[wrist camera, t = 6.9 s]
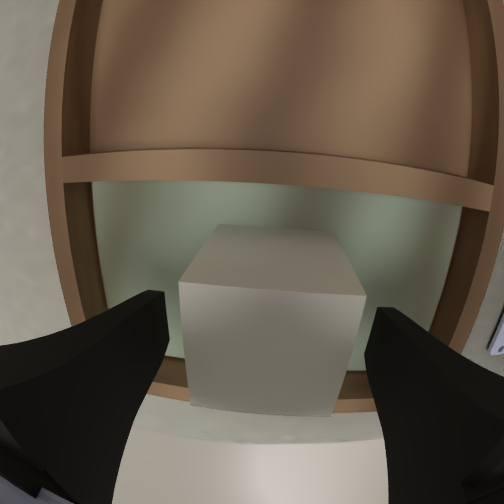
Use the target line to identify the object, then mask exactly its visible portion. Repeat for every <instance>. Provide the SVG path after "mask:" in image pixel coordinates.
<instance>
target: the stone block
mask: <svg viewBox="0 0 504 504" xmlns="http://www.w3.org/2000/svg"><path fill="white" fill-rule="evenodd" d="M178 285H179V299H180V312H181V324H182V335H183V346H184V355H185V364H186V373H187V381H188V389H189V397H190V404H191V405H192V406H198V407H205V408H211V409H219V410H227V411H235V412H244V413H255V414H267V415H283V416H310V417H331V415H332V413H333V410H334V407H335V404H336V401H337V398H338V396H339V393H340V390H341V387H342V384H343V380H344V377H345V374H346V371H347V368H348V364H349V361H350V358H351V354H352V351H353V347H354V344H355V340H356V337H357V333H358V329H359V326H360V322H361V318H362V314H363V310H364V306H365V302H366V297H367V295H366V293H365V291H364V289H363V287H362V285H361V283H360V281H359V279H358V277H357V275H356V273H355V271H354V269H353V267H352V265H351V264H350V262H349V260H348V258H347V256H346V254H345V252H344V250H343V248H342V246H341V245H340V243H339V241H338V239H337V237H336V235H335V233H334V232H324V231H312V230H299V229H286V228H273V227H259V226H244V225H229V224H218V225H217V227H216V228H215V230H214V231H213V232H212V234H211V235H210V237H209V238H208V239H207V241H206V242H205V244H204V245H203V247H202V248H201V249H200V251H199V252H198V254H197V255H196V257H195V258H194V259H193V261H192V262H191V264H190V265H189V267H188V268H187V270H186V271H185V273H184V274H183V275H182V277H181V278H180V280H179V281H178Z"/></svg>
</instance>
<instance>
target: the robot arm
mask: <svg viewBox="0 0 504 504" xmlns="http://www.w3.org/2000/svg"><path fill="white" fill-rule="evenodd" d="M169 341H170V336H169V328H168V320H167V311H166V301H165V291H156V290H146V291H144V292H141V293H139V294H137V295H135V296H133V297H131V298H129V299H127V300H125V301H124V302H122V303H120V304H118V305H116V306H114V307H112V308H110V309H108V310H106V311H105V312H103V313H100V314H98V315H96V316H94V317H92V318H90V319H88V320H86V321H84V322H82V323H79V324H77V325H75V326H72V327H70V328H67V329H64V330H62V331H59V332H56V333H53V334H50V335H47V336H43V337H39V338H36V339H32V340H28V341H24V342H20V343H14V344H9V345H2V346H0V504H112V499H113V493H114V488H115V483H116V479H117V475H118V471H119V467H120V462H121V459H122V455H123V452H124V449H125V445H126V442H127V439H128V436H129V433H130V430H131V427H132V424H133V421H134V419H135V416H136V414H137V412H138V410H139V408H140V406H141V404H142V402H143V400H144V398H145V396H146V394H147V392H148V390H149V388H150V386H151V384H152V382H153V380H154V378H155V376H156V374H157V372H158V370H159V368H160V366H161V364H162V362H163V359H164V356H165V353H166V350H167V347H168V344H169ZM488 352H489V353H490V354H491V355H500V354H504V313H503V316H502V318H501V321H500V323H499V326H498V328H497V330H496V332H495V335H494V337H493V339H492V341H491V344H490V346H489V348H488ZM364 359H365V366H366V372H367V378H368V382H369V385H370V389H371V392H372V395H373V399H374V402H375V406H376V409H377V413H378V416H379V420H380V423H381V427H382V431H383V436H384V440H385V449H386V458H387V468H388V490H389V491H388V492H389V504H504V377H503V376H500V375H498V374H496V373H494V372H491V371H489V370H487V369H485V368H483V367H481V366H479V365H478V364H476V363H474V362H472V361H471V360H469V359H467V358H465V357H464V356H462V355H460V354H459V353H457V352H456V351H454V350H453V349H451V348H450V347H448V346H447V345H445V344H444V343H442V342H441V341H440V340H438V339H437V338H436V337H434V336H433V335H431V334H430V333H429V332H427V331H426V330H425V329H423V328H422V327H421V326H420V325H418V324H417V323H416V322H414V321H413V320H412V319H410V318H409V317H408V316H406V315H405V314H403V313H402V312H400V311H399V310H397V309H396V308H394V307H377V310H376V313H375V317H374V321H373V324H372V328H371V332H370V335H369V339H368V342H367V345H366V349H365V352H364Z"/></svg>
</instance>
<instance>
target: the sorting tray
mask: <svg viewBox="0 0 504 504" xmlns="http://www.w3.org/2000/svg"><path fill="white" fill-rule="evenodd" d="M44 163H45V180H46V193H47V203H48V212H49V220H50V228H51V235H52V241H53V247H54V253H55V258H56V264H57V269H58V273H59V278H60V283H61V287H62V291H63V295H64V300H65V303H66V307H67V311H68V315H69V318H70V322H71V325H72V326H75V325H77V324H79V323H82V322H84V321H86V320H88V319H90V318H92V317H94V316H96V315H98V314H100V313H103V312H105V311H106V310H108V309H110V308H112V307H114V306H116V305H118V304H120V303H122V302H124V301H125V300H127V299H129V298H131V297H133V296H135V295H137V294H139V293H141V292H144V291H146V290H156V291H165V301H166V311H167V320H168V328H169V336H170V341H169V344H168V347H167V350H166V353H165V356H164V359H163V362H162V364H161V366H160V368H159V370H158V372H157V374H156V376H155V378H154V380H153V382H152V384H151V386H150V388H149V390H148V392H147V394H151V395H156V396H161V397H166V398H171V399H176V400H182V401H188V402H190V397H189V389H188V381H187V373H186V364H185V355H184V346H183V335H182V324H181V312H180V299H179V285H178V281H179V280H180V278H181V277H182V275H183V274H184V273H185V271H186V270H187V268H188V267H189V265H190V264H191V262H192V261H193V259H194V258H195V257H196V255H197V254H198V252H199V251H200V249H201V248H202V247H203V245H204V244H205V242H206V241H207V239H208V238H209V237H210V235H211V234H212V232H213V231H214V230H215V228H216V227H217V225H218V224H229V225H244V226H259V227H273V228H286V229H299V230H312V231H324V232H334V233H335V235H336V237H337V239H338V241H339V243H340V245H341V246H342V248H343V250H344V252H345V254H346V256H347V258H348V260H349V262H350V264H351V265H352V267H353V269H354V271H355V273H356V275H357V277H358V279H359V281H360V283H361V285H362V287H363V289H364V291H365V293H366V295H367V297H366V302H365V306H364V310H363V314H362V318H361V322H360V326H359V329H358V333H357V337H356V340H355V344H354V347H353V351H352V354H351V358H350V361H349V364H348V368H347V371H346V374H345V377H344V380H343V384H342V387H341V390H340V393H339V396H338V398H337V401H336V404H335V407H334V410H333V413H352V412H374V411H377V409H376V406H375V402H374V399H373V395H372V392H371V389H370V385H369V382H368V378H367V372H366V366H365V359H364V352H365V349H366V345H367V342H368V339H369V335H370V332H371V328H372V324H373V321H374V317H375V313H376V310H377V307H394V308H396V309H397V310H399V311H400V312H402V313H403V314H405V315H406V316H408V317H409V318H410V319H412V320H413V321H414V322H416V323H417V324H418V325H420V326H421V327H422V328H423V329H425V330H426V331H427V332H429V333H430V334H431V335H433V336H434V337H436V338H437V339H438V340H440V341H441V342H442V343H444V344H445V345H447V346H448V347H450V348H451V349H453V350H454V351H456V352H457V353H459V354H460V355H461V353H462V351H463V348H464V346H465V344H466V342H467V339H468V337H469V335H470V332H471V330H472V328H473V325H474V323H475V320H476V318H477V315H478V312H479V310H480V307H481V304H482V301H483V299H484V296H485V293H486V290H487V287H488V284H489V281H490V277H491V274H492V271H493V267H494V264H495V260H496V257H497V253H498V249H499V245H500V241H501V237H502V232H503V228H504V5H503V0H59V5H58V9H57V13H56V18H55V23H54V28H53V34H52V40H51V46H50V53H49V60H48V69H47V79H46V91H45V108H44Z"/></svg>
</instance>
